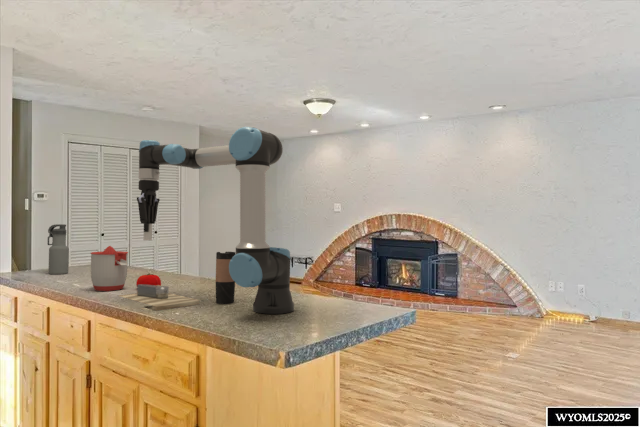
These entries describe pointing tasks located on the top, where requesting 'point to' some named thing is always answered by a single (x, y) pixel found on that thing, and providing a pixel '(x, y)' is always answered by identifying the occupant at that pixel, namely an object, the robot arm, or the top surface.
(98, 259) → the citrus juicer
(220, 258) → the travel mug
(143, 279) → the tomato
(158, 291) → the bar
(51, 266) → the water bottle
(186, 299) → the striped wooden cutting board
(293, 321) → the top surface
